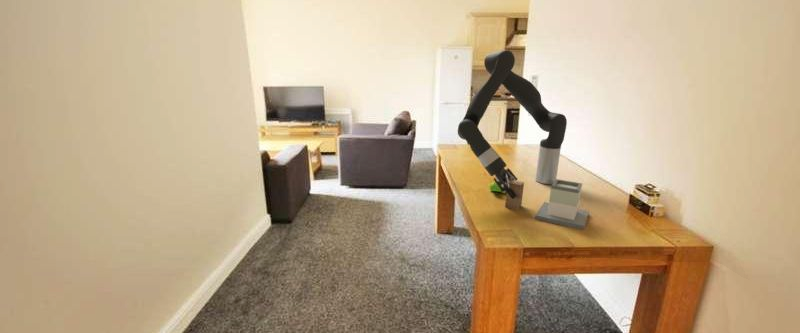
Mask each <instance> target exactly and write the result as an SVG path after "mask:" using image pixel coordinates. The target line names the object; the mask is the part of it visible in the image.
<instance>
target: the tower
mask: <svg viewBox="0 0 800 333" xmlns="http://www.w3.org/2000/svg"><path fill="white" fill-rule="evenodd" d="M550 185H551V186H550V193H549V200H548V202H546V201H544V202H543V203H542V205H541V206H540V208H539V209H538V211H537V212H536V213H535V215H534V220H537V221H541V222H546V223H551V224H555V225H560V226H564V227H568V228H573V229H577V230H582V231H584V229H585V226H586V222H587V219H588V217H589V213H590V211H589V210H586V209H580V208H579V206H580V199H581V193H582V187H583V183H581V182H575V181H570V180H564V179H557V178H556V180H555V181H554V182H553V184H550Z"/></svg>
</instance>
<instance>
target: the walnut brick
mask: <svg viewBox="0 0 800 333" xmlns="http://www.w3.org/2000/svg"><path fill="white" fill-rule="evenodd" d="M509 182H510V183H509V185H510V187H511V189H512V190H513V191H514V192H515V194H516V195H517V196H516V197H515V198H514V199H512V198H511V197H510V196H509V195H508V193H507V192H506V196H505V205H504V207H505V208H508V209H512V210H516V211H518V210H519V209H520V208H521V207H522V204H523V202H522V201H523V196H524V194H523V193H524V187H525V186H524V185H525V182H524V181H522V180H521V181H520V180H517V181H516V180H510V181H509Z"/></svg>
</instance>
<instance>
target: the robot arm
mask: <svg viewBox="0 0 800 333" xmlns="http://www.w3.org/2000/svg"><path fill="white" fill-rule="evenodd" d="M515 62H516V58H515V55H514V53H513V52H512V51H511V50H508V49H503V50H496V51H494V52H489V53H488V54H487V55H486V56H485V58H484V62H483V63H484V68H485V70H486V71H487V72H488V73H489V74H490V76H489V78H488V79H487V80H486V81H485V83H484V84H483V85H482V86H481V87H480V88H479V89H478V90H477V91H476V92H475V93H474V96H473V97H472V98H471V101H470V103H469V105H468V108H466V113H465V115H464V117H463V119H462V120H461V121H460V122H459V124H458V125H457V126H458V128H457V135H458V137H459V138H460V139H462V140H465V141H466V143H468V145H469V147H470V150H471V151H472V153H473V154H474V156H476V158H477V159H478V161H479V162H480V164H481V165H482V167H483V168H484V170H486V171H487V173H488V175H490V176H491V177H494V176H495V177H494V178H493V181H494V182H496V184H497V185H498V186H499V188H500V189H501V190H502V191H505V192H506V194H507V193H508V195H509V196H510V197H511V198H512V199H514V198H515V197H516V196H517V195H516V194H515V192H514V191H513V190H512V189H511V187H510V185H509V183H510V182H509V181H510V180H516V181H519V179H518V177H517V176H516V175H515V174H514V172H512V170H511V169H510V168H509V167H507V163H506V162H505V161H504V160H503V158H502V157H501V156H500V154H499V153H498V152H497V151H496V149H495V148H493V147H492V146H491V144H490V143H489V142H488V140H486V138H485V137H484V135H483V133H482V132H481V130H480V129H479V125H480V122H481V120H482V118H483V117H484V115H485V113H486V111H487V110H488V108H489V105H490V104H491V102H492V99H493V97H494V96H495V94H496V93H497V91H498V90H499V89H500V87H501V85H502V86H503V87H504V89H506V91H508V92H509V93H510V94H511V95H512V97H514V99H515V100H516V101H517V102H518V103H519V105H520V106H522V108H523V109H525V111H526V112H528V114H529V115H530V116H531V118H533V120H534V121H535V123H536V124H537V125H538V127H539V128H540V129H541V131H544V132H545V133H546V132H547V133H548V136H547V137H546V138H544V139H541V140H540V142H539V149H538V150H539V151H538V159H537V165H536V174H535V182H537V183H540V184H545V185H552V184H553V182H554V181H555V180H556V179H557V177H558V169H559V163H560V155H561V149H562V144H563V142H564V140H565V135H566V129H567V124H568V123H567V122H568V121H567V117H566V116H565V115H564V114H563V113H558V112H552V111H550V110H548V109H547V108H546V107H545V106H544V105H543V102H542V96H541V92H540V91H539V89H537V87H536V86H535V85H534V84H533V83H532V82H531V81H530V80H528V79H526V78H525V77H523V76H520V75H519V74H517V73H515V72H514V71H512V70H513V68H514V67H515V66H514V65H515ZM506 167H507V168H506ZM505 168H506V169H505ZM502 187H503V188H502Z"/></svg>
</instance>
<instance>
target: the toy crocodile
mask: <svg viewBox="0 0 800 333" xmlns="http://www.w3.org/2000/svg"><path fill="white" fill-rule="evenodd" d="M489 186H490V187H489V190H490V192H498V193H499V192H500V193H501V194H505V193H506V194H507V192H505V191H502V190H501V189H500V188H499V186H498V185H497V184H496V182H495V181H494V182H491V184H490V185H489ZM502 188H503V187H502Z"/></svg>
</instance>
